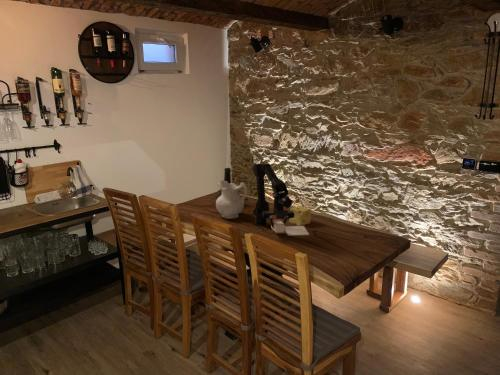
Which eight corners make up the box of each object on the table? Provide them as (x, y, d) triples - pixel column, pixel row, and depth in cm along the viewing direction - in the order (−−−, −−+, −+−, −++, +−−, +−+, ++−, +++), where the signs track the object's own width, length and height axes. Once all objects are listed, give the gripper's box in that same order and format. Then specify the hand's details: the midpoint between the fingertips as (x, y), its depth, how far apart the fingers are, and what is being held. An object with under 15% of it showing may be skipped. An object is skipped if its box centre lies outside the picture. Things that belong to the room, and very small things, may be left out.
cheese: (300, 226, 251) (300, 212, 248) (288, 222, 259) (288, 207, 257) (311, 223, 258) (311, 208, 255) (299, 219, 266) (299, 204, 263)
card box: (284, 231, 233) (285, 224, 232) (276, 232, 232) (276, 225, 230) (279, 226, 241) (279, 219, 240) (271, 227, 239) (271, 220, 238)
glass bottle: (217, 209, 284) (217, 171, 276) (213, 202, 300) (213, 166, 293) (241, 207, 288) (242, 170, 281) (236, 200, 305) (236, 165, 298)
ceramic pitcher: (248, 214, 277) (249, 179, 273) (245, 221, 258) (246, 184, 254) (218, 212, 279) (218, 178, 275) (213, 220, 260) (213, 183, 256)
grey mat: (287, 235, 236) (287, 234, 236) (283, 227, 249) (283, 226, 249) (309, 235, 237) (309, 234, 237) (303, 226, 251) (303, 226, 251)
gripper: (264, 207, 223) (264, 233, 228) (296, 207, 225) (295, 232, 229) (262, 201, 234) (261, 226, 238) (293, 201, 236) (292, 225, 240)
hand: (277, 227), depth 236 cm, fingers closed on card box, 6 cm apart
